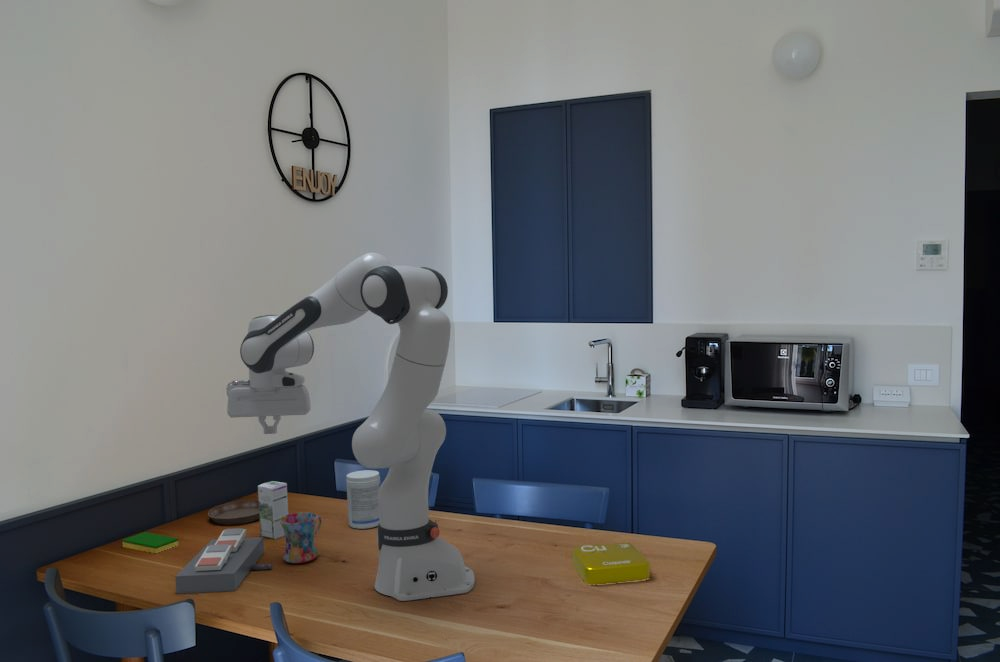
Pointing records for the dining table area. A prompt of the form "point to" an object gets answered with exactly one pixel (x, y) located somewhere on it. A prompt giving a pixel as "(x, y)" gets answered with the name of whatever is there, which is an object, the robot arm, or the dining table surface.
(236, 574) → the switch panel
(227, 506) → the plant saucer
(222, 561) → the rocker
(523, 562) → the dining table surface
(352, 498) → the supplement tub
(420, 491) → the robot arm
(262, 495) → the syrup box
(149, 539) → the dish sponge
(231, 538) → the rocker
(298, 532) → the mug
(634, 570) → the element tile
